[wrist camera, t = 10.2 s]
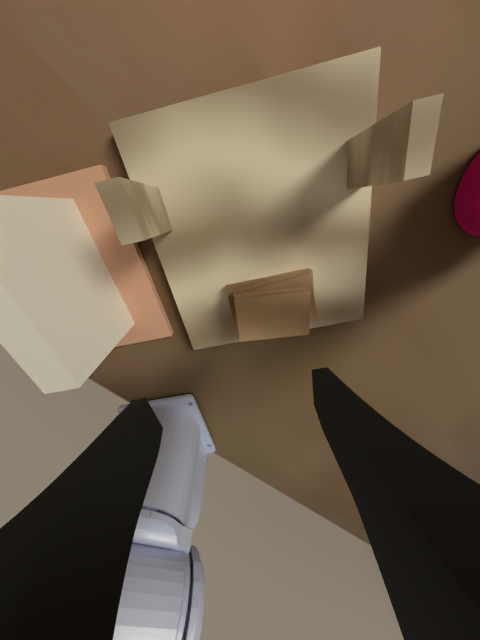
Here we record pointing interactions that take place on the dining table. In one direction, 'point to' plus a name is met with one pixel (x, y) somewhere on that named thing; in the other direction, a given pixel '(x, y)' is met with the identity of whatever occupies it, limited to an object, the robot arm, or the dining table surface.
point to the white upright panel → (55, 293)
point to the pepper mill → (469, 199)
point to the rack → (266, 186)
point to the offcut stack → (273, 305)
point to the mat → (109, 250)
